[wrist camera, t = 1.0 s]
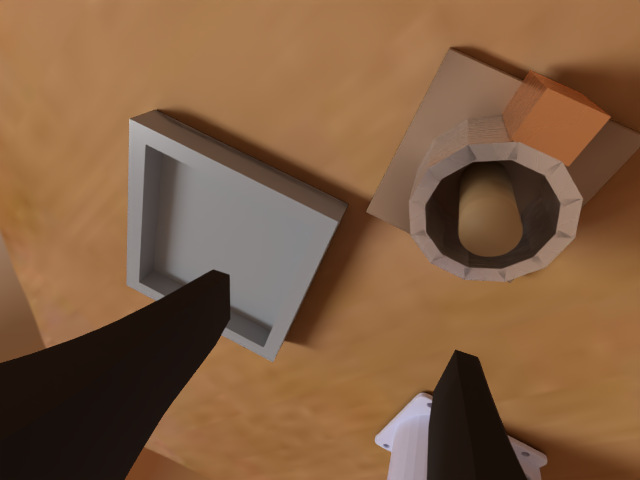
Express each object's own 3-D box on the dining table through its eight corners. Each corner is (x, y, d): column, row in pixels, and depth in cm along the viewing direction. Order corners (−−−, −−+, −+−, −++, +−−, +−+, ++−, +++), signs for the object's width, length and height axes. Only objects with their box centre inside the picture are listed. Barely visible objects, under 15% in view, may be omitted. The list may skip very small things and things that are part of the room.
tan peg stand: (639, 133, 14) (713, 188, 10) (508, 273, 19) (521, 350, 15) (450, 46, 15) (444, 65, 11) (368, 205, 20) (342, 261, 15)
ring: (627, 114, 13) (669, 143, 11) (503, 254, 18) (510, 302, 15) (485, 50, 14) (491, 62, 11) (397, 203, 18) (385, 240, 15)
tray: (348, 204, 20) (338, 222, 18) (283, 341, 28) (273, 362, 26) (155, 109, 21) (129, 118, 19) (145, 269, 28) (126, 285, 27)
